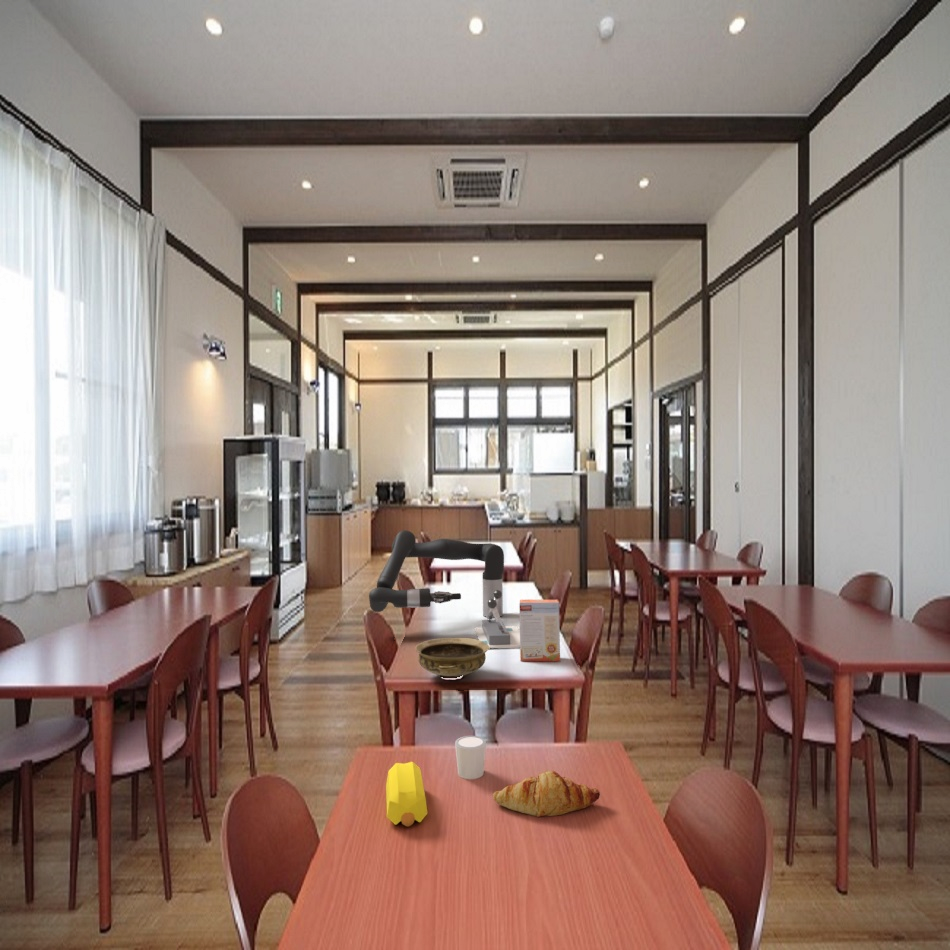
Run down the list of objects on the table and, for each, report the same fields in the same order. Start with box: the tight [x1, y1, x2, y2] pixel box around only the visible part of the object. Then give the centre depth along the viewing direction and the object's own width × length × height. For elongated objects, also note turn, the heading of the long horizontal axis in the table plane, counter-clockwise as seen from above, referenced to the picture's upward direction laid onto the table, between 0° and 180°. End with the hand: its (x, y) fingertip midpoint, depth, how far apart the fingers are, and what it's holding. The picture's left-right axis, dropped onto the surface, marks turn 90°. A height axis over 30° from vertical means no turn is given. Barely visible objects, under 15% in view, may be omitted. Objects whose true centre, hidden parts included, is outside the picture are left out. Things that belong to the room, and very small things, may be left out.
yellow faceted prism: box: [385, 761, 429, 827], centre depth 125 cm, size 18×7×8 cm
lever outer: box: [488, 599, 505, 633], centre depth 242 cm, size 4×4×13 cm
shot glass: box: [454, 735, 487, 780], centre depth 139 cm, size 7×7×7 cm
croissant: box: [492, 769, 601, 818], centre depth 125 cm, size 21×10×8 cm, turn 89°
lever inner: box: [486, 590, 502, 622], centre depth 260 cm, size 4×4×13 cm
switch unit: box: [474, 619, 520, 650], centre depth 251 cm, size 30×18×4 cm, turn 6°
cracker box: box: [519, 599, 561, 662], centre depth 222 cm, size 14×6×21 cm, turn 84°
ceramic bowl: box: [414, 637, 490, 678], centre depth 204 cm, size 30×24×10 cm
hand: (460, 596), depth 259 cm, fingers closed
